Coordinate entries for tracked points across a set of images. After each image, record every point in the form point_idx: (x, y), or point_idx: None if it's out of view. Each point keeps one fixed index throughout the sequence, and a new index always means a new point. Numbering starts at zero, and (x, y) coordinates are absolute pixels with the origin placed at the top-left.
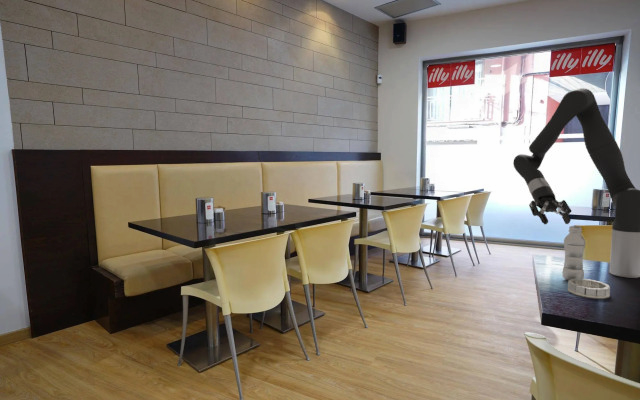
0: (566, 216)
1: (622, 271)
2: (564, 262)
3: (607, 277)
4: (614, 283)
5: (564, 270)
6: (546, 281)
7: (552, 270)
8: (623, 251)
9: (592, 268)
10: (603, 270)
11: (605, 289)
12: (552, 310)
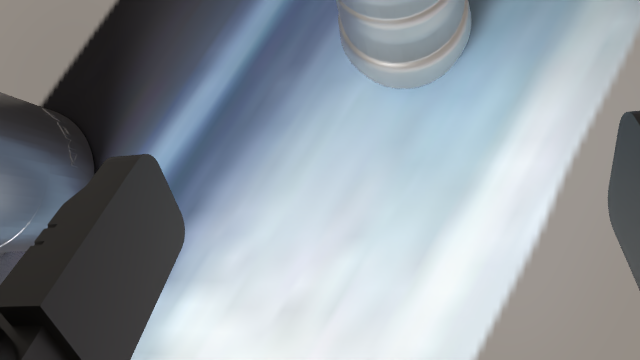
0: (86, 228)
1: (56, 121)
2: (458, 7)
3: (158, 123)
4: (199, 12)
5: (468, 6)
6: (594, 19)
7: (403, 284)
8: None
9: None
10: None
11: None
12: None
